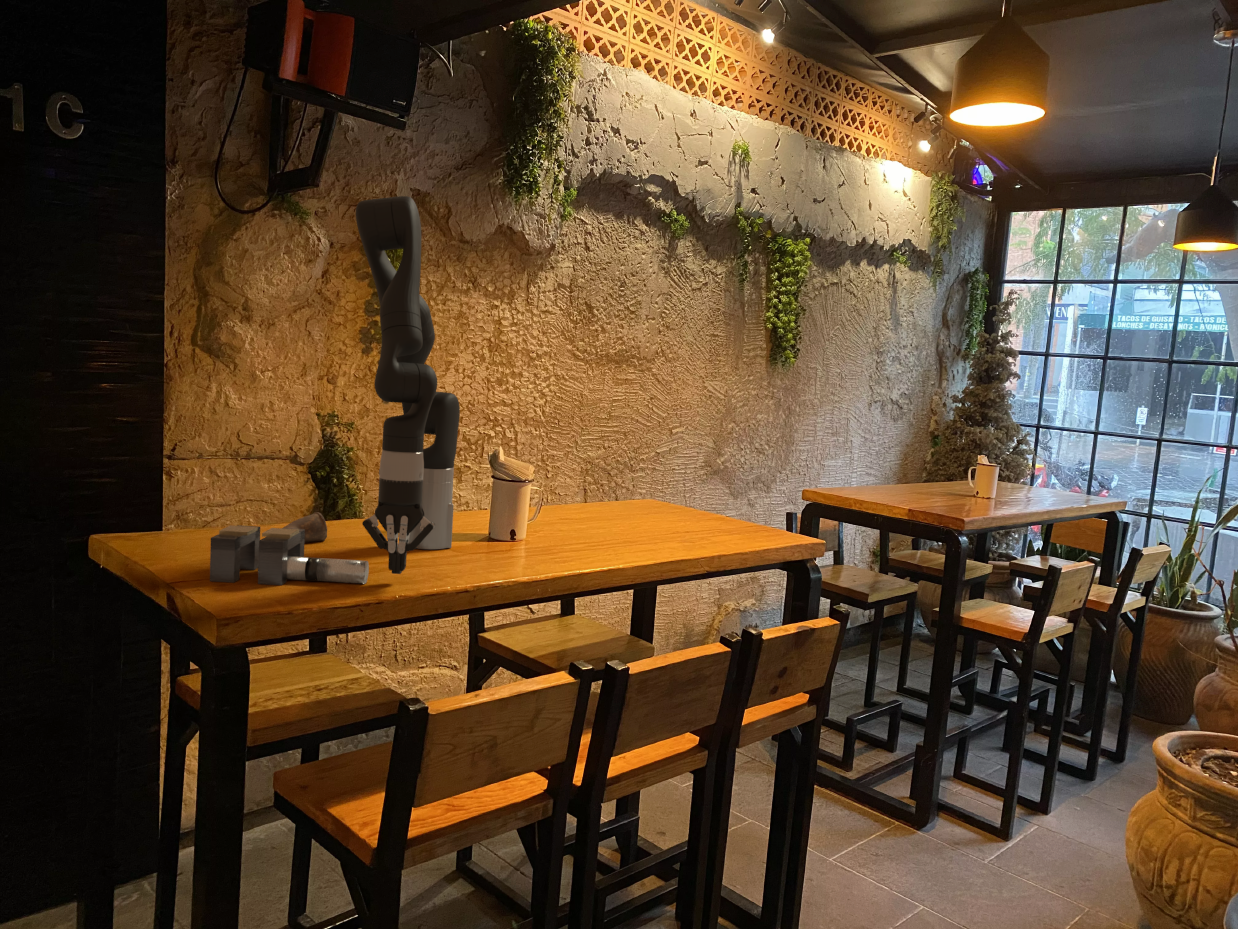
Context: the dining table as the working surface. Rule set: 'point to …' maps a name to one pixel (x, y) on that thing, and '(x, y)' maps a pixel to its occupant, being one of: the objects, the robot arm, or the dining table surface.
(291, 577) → the tube
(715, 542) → the dining table surface
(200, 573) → the dining table surface
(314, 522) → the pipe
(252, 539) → the grey u-shaped stands
